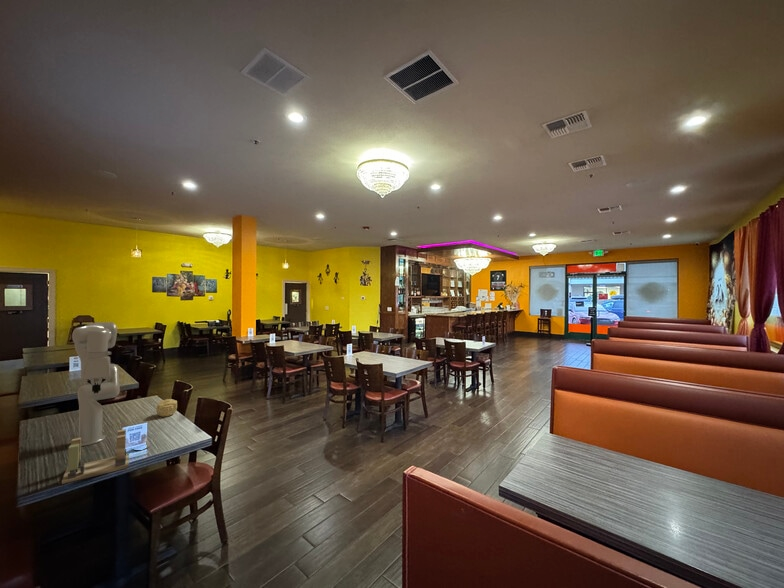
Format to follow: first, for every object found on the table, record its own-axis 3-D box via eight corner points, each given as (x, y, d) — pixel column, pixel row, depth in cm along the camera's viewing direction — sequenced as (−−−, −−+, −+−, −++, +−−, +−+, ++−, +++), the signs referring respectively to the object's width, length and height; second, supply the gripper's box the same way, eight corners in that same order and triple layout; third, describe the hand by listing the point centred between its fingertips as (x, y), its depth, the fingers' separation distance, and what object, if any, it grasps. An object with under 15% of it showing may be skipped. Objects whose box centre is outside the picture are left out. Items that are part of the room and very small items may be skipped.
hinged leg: (68, 474, 142) (70, 444, 142) (78, 471, 143) (79, 443, 144) (67, 478, 138) (68, 448, 139) (76, 475, 140) (78, 446, 141)
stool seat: (67, 470, 148) (68, 438, 148) (129, 456, 161) (129, 427, 162) (61, 484, 137) (62, 450, 137) (128, 467, 150) (129, 436, 151)
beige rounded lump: (157, 419, 209) (157, 403, 210) (155, 414, 218) (155, 398, 219) (178, 415, 217) (178, 399, 217) (175, 410, 226) (175, 395, 226)
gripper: (117, 352, 165) (116, 388, 164) (77, 355, 155) (76, 393, 155) (117, 354, 159) (116, 391, 159) (74, 357, 150) (73, 397, 149)
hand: (96, 392), depth 157 cm, fingers closed
